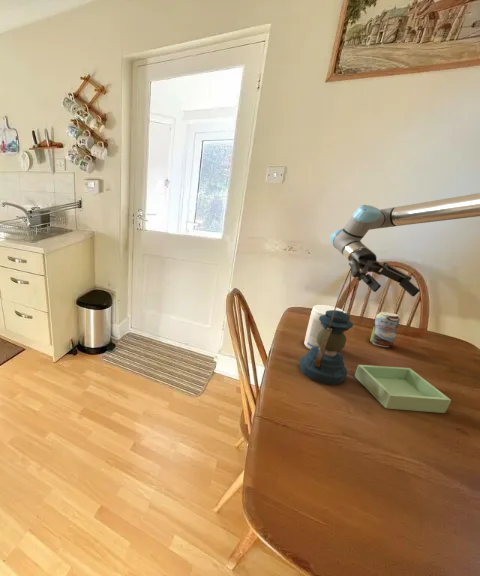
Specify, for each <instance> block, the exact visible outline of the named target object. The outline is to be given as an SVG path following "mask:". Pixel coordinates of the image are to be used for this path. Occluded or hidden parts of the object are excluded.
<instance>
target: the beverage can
mask: <svg viewBox="0 0 480 576" xmlns="http://www.w3.org/2000/svg"><path fill="white" fill-rule="evenodd" d="M400 321H401V319H400V317H399V314H396V313H393V312H388V311H379V312H378V313H377V314H376V316H375V319H374V324H373V328H372V330H371V335H370V339H369V340H370V342H371V343H372V344H373V345H375V346H378V347H381V348H389V347H392V346H394V342H395V338H396V335H397V332H398V328H399V325H400Z"/></svg>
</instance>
